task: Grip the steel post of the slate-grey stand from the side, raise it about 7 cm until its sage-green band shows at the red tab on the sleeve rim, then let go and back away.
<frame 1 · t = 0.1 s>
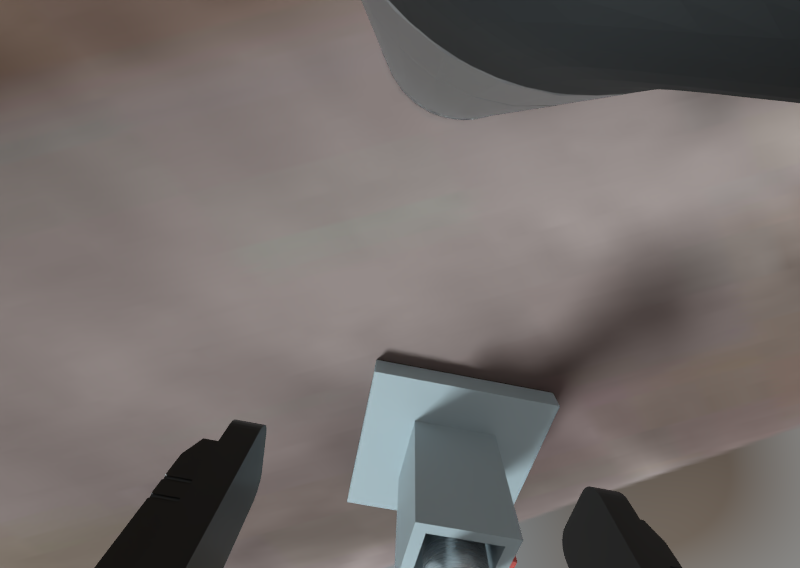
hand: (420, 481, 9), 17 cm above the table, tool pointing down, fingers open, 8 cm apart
stand base: (443, 443, 31), on the table
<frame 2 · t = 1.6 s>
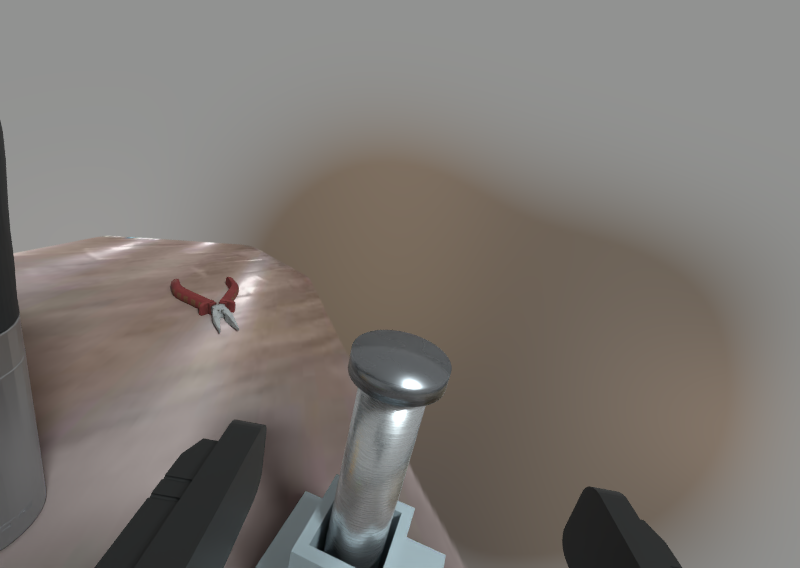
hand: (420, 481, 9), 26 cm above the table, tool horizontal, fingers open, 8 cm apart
column: (366, 494, 24), point 13 cm above the table, slide at 0.0 cm
pliers: (204, 308, 67), on the table
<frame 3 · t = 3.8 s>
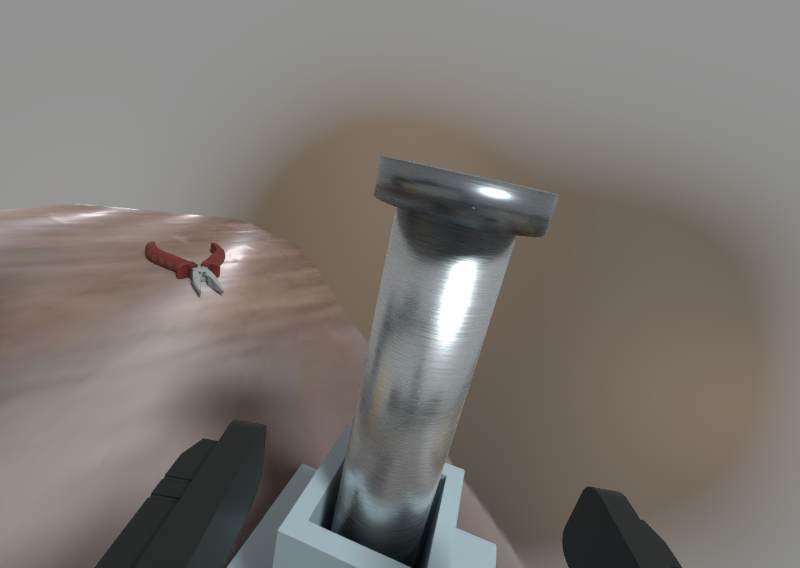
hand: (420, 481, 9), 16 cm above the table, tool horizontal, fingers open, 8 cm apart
column: (399, 439, 15), point 13 cm above the table, slide at 0.0 cm
pliers: (183, 273, 58), on the table
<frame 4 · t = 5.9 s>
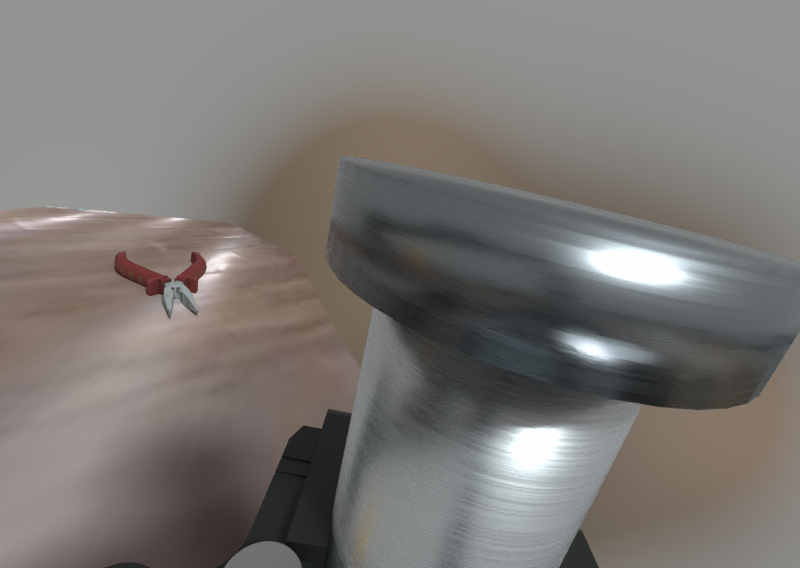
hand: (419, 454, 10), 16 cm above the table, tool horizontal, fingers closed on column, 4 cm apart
pliers: (156, 288, 51), on the table
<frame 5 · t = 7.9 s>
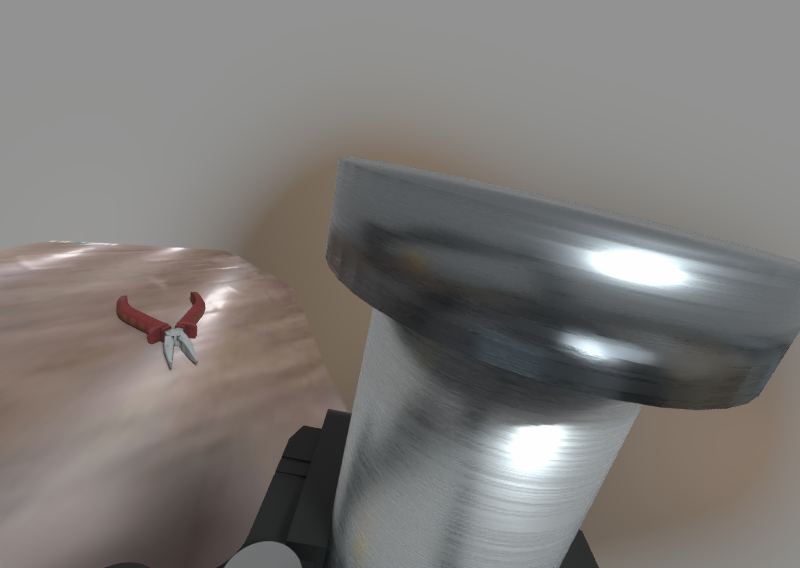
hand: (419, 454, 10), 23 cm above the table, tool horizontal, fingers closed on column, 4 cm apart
pliers: (157, 333, 53), on the table
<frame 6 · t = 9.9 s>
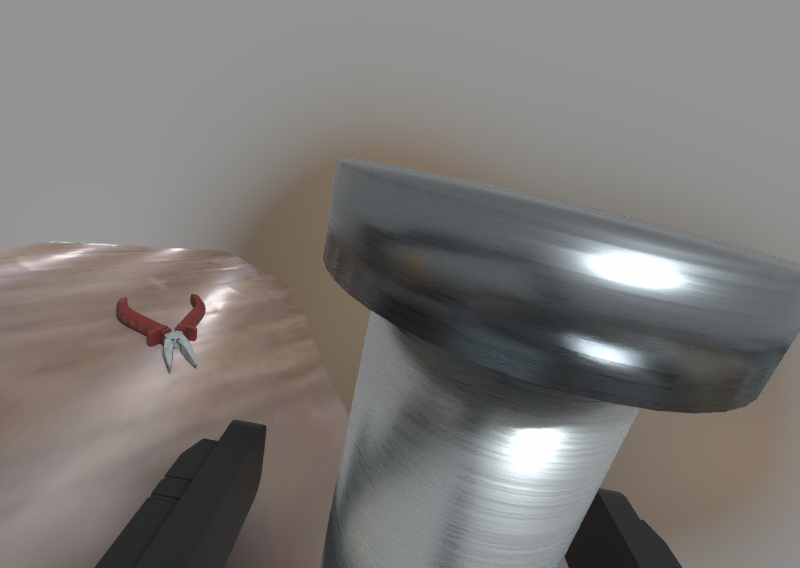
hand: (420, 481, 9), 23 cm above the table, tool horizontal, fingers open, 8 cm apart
pliers: (157, 336, 53), on the table
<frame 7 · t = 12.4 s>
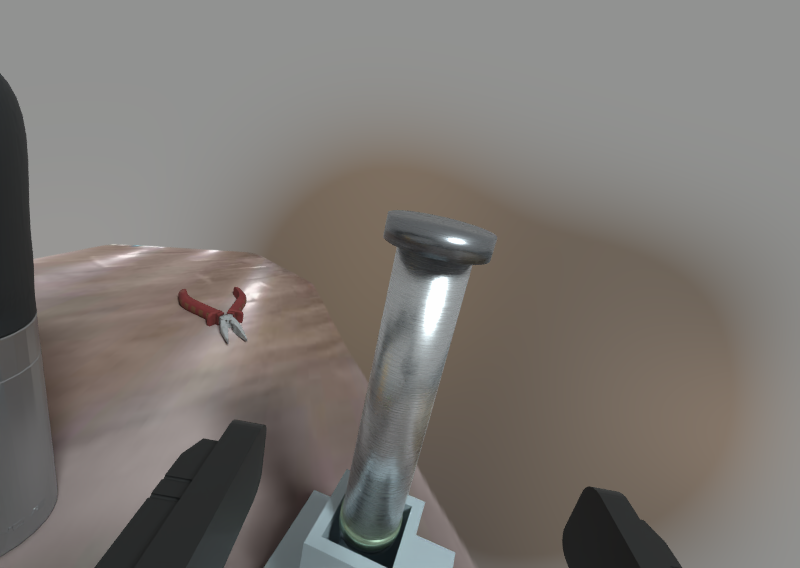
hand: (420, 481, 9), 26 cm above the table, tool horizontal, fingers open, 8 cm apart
column: (399, 397, 22), point 20 cm above the table, slide at 7.0 cm
pliers: (211, 319, 66), on the table
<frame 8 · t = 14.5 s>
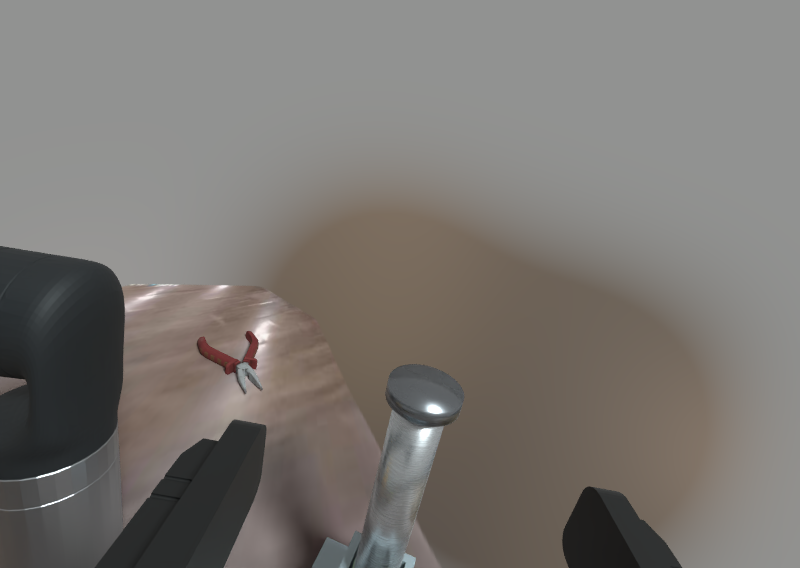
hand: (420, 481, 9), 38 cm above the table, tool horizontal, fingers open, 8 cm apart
column: (396, 494, 30), point 20 cm above the table, slide at 7.0 cm
pliers: (228, 365, 74), on the table
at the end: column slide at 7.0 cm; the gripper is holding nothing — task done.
